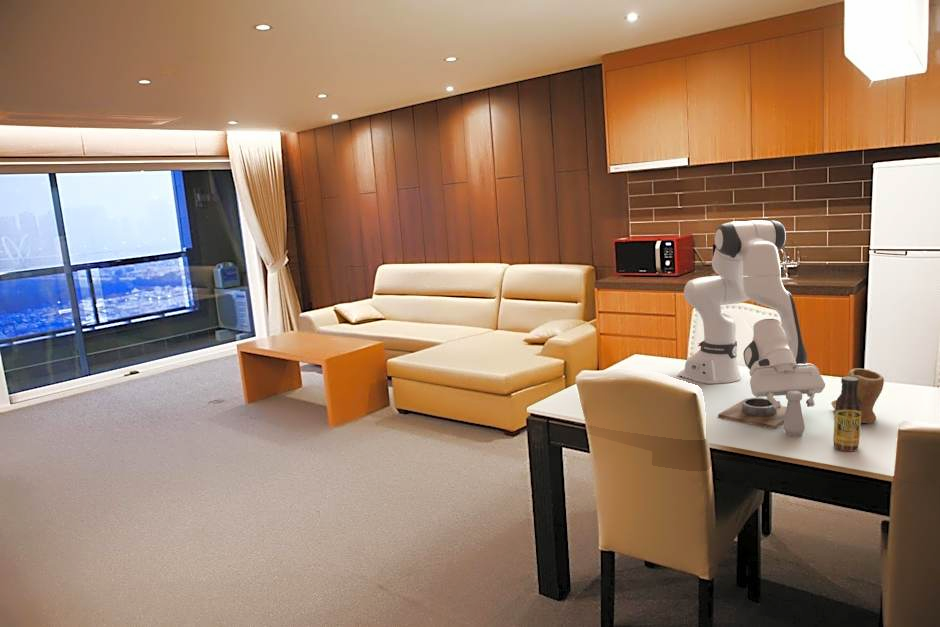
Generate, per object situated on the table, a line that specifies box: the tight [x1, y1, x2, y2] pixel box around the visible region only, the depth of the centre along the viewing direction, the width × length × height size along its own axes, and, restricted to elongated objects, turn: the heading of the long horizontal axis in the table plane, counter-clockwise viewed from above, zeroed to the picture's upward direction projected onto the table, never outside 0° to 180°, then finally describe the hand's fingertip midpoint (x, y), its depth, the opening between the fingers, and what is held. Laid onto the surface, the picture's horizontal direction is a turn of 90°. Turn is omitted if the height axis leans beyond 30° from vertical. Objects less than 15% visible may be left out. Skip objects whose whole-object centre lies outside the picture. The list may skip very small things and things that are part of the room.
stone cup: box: [830, 367, 885, 424], centre depth 205 cm, size 15×12×15 cm
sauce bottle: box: [832, 376, 862, 452], centre depth 183 cm, size 7×6×20 cm
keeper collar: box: [742, 397, 777, 417], centre depth 214 cm, size 10×10×3 cm
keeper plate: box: [718, 400, 787, 430], centre depth 215 cm, size 18×18×1 cm
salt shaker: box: [782, 390, 806, 438], centre depth 196 cm, size 6×6×13 cm
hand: (794, 406), depth 195 cm, fingers open, 8 cm apart
